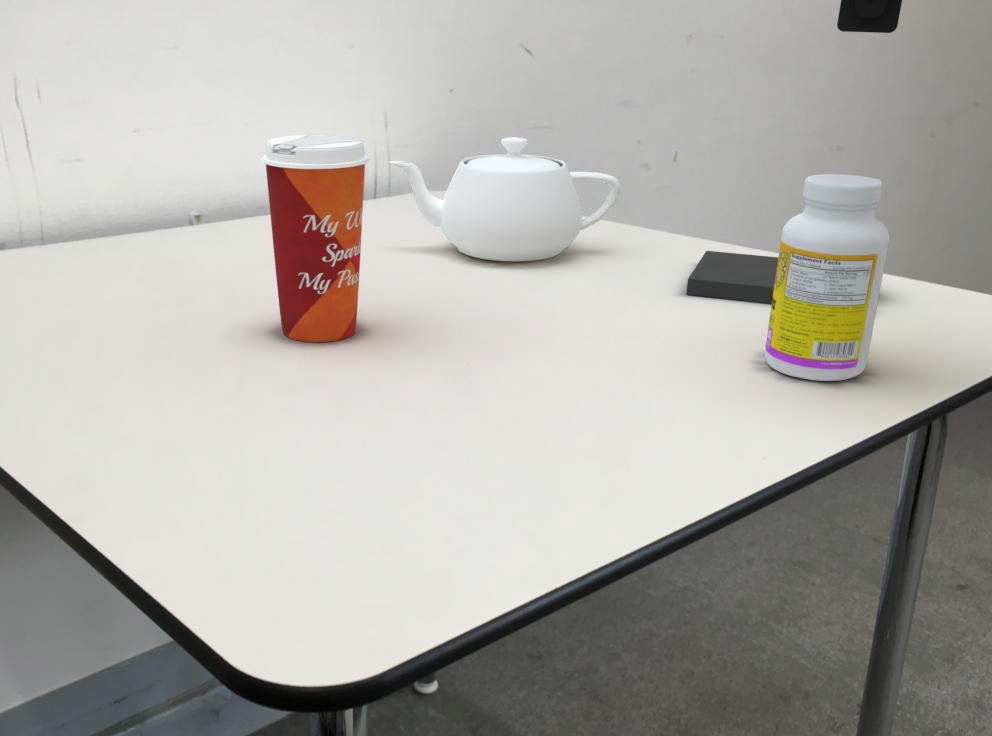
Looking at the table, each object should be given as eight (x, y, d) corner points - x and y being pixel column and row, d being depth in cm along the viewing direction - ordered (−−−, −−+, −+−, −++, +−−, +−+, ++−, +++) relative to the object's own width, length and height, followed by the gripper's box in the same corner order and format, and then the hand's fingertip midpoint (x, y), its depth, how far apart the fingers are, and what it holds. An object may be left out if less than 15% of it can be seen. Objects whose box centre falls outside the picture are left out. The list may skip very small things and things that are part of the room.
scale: (877, 282, 97) (883, 248, 95) (876, 315, 87) (883, 278, 86) (704, 265, 102) (708, 233, 101) (685, 294, 93) (690, 259, 91)
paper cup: (324, 353, 78) (320, 152, 72) (246, 333, 82) (237, 141, 76) (391, 328, 83) (392, 139, 78) (315, 310, 88) (311, 130, 82)
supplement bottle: (792, 346, 80) (820, 167, 75) (881, 368, 75) (918, 180, 70) (744, 366, 76) (770, 178, 70) (835, 391, 71) (871, 193, 66)
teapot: (604, 237, 112) (613, 129, 108) (626, 270, 100) (637, 150, 95) (390, 234, 113) (391, 126, 109) (385, 267, 100) (386, 147, 96)
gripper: (856, -272, 68) (810, 21, 75) (848, -339, 54) (792, 32, 61) (989, -280, 66) (929, 24, 73) (1018, -352, 51) (940, 37, 58)
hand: (867, 28), depth 67 cm, fingers open, 9 cm apart
